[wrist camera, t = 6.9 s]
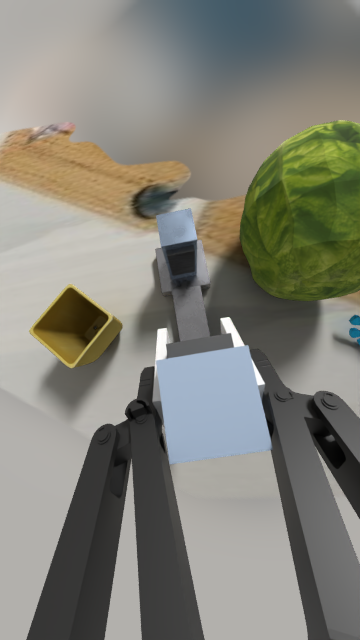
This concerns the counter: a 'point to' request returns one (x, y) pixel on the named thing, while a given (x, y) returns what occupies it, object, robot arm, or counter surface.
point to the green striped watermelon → (306, 215)
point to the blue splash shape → (353, 331)
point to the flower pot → (75, 328)
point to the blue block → (211, 400)
